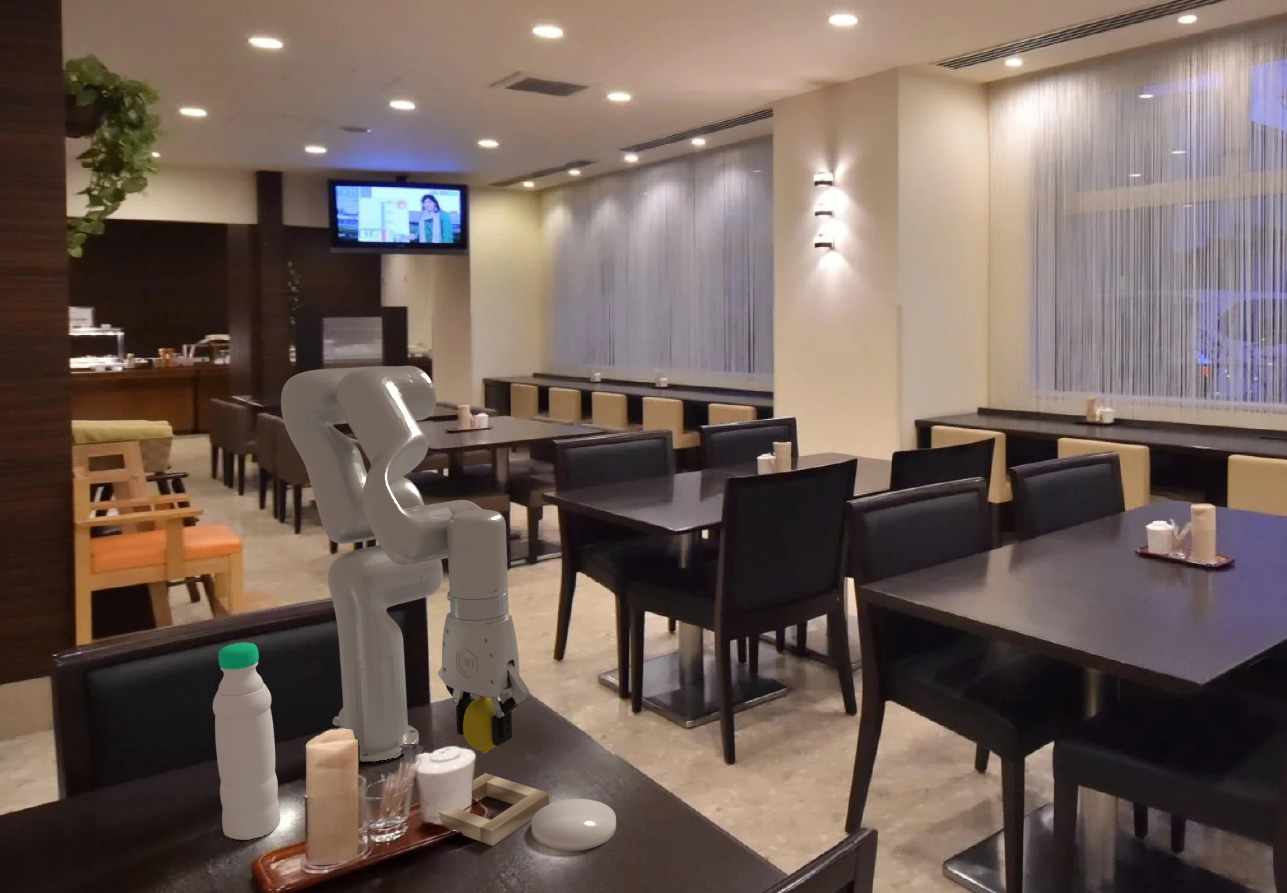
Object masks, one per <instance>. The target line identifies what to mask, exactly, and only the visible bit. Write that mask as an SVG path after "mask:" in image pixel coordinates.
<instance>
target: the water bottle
mask: <svg viewBox="0 0 1287 893" xmlns="http://www.w3.org/2000/svg"><path fill="white" fill-rule="evenodd" d="M259 655H260V654H259V649H258V646H257V645H256V644H254V643H252V642H251V643H250V642H237V643H232V644H228V645H225V646H223V647H222V648H221V649H219V651H218V664H219V667H220V671H222V672H223V677H222V679H221V681H220V682H219V684H218V690H217V692H216V693H215V696H214V698H213V702H212V710H213V714H214V715H215V716H214V717H215V720H214V729H215V730H214V732H215V734H214V735H215V750H216V757H217V768H218V775H219V779H220V784H219V786H220V787H219V796H220V798H219V799H220V802H221V806H222V813H221V815H222V816H221V821H222V822H221V823H222V832H223V834H224V835H225V837H227V836H228V837H230V838H233V839H252V838H257V837H261V836H263V835H266V836H268V835H269V834H271V833H272V832H274V831H275V829H277V828H278V827H279V825H280V823H281V809H280V808H281V807H280V803H279V799H278V789H279V786H278V785H279V784H278V783H279V782H278V778H277V774H276V747H275V733H274V732H275V731H274V722H273V715H272V709H271V704H272V695H271V692H270V690H269V688H268V687H267V685H266V683H264V680H263V679H262V676H261V675H260V674H259V673H258V672H257V670H256V668H257V666H258V664H259ZM270 832H271V833H270ZM228 837H227V838H228ZM263 837H264V836H263ZM230 838H229V839H230ZM261 838H262V837H261Z"/></svg>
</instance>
